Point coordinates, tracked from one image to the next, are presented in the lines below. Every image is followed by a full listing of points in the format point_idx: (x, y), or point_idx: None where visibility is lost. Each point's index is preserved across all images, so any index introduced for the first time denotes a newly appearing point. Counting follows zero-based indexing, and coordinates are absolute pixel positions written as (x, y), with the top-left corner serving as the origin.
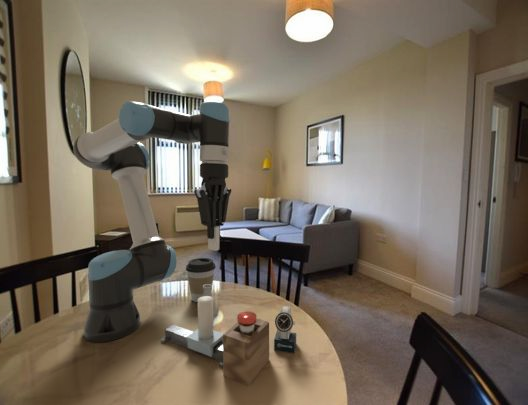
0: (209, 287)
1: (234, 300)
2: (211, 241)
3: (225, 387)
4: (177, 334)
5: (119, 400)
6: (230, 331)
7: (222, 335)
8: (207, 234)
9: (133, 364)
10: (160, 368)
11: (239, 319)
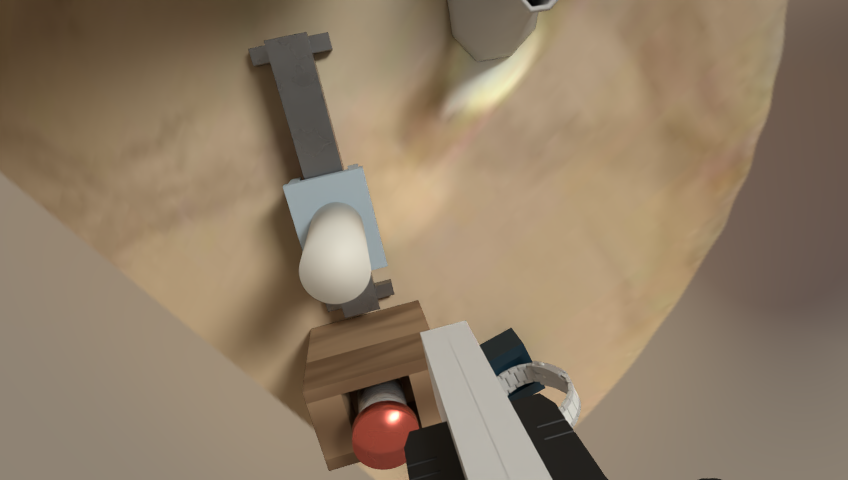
0: (532, 12)
1: (641, 11)
2: (442, 411)
3: (289, 362)
4: (285, 112)
5: (54, 216)
6: (331, 394)
7: (375, 268)
8: (407, 468)
9: (127, 96)
10: (191, 182)
11: (352, 441)
